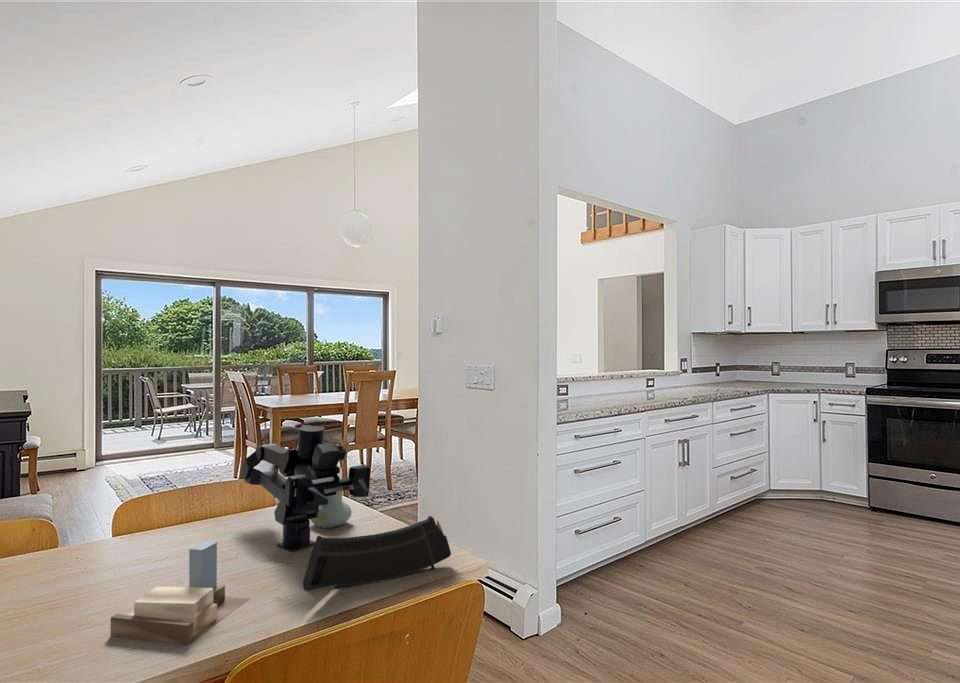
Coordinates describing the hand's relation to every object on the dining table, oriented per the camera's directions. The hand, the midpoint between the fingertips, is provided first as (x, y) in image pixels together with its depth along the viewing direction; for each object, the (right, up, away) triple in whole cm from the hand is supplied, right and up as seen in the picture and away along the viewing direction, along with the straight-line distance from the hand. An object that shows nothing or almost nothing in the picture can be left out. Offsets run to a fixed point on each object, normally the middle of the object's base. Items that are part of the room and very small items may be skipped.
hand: (347, 498), depth 117 cm
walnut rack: (-24, -16, -19) cm, 34 cm away
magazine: (+7, -17, 0) cm, 18 cm away
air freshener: (-13, -17, +35) cm, 41 cm away
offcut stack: (-24, -15, -22) cm, 36 cm away
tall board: (-23, -15, -14) cm, 31 cm away
